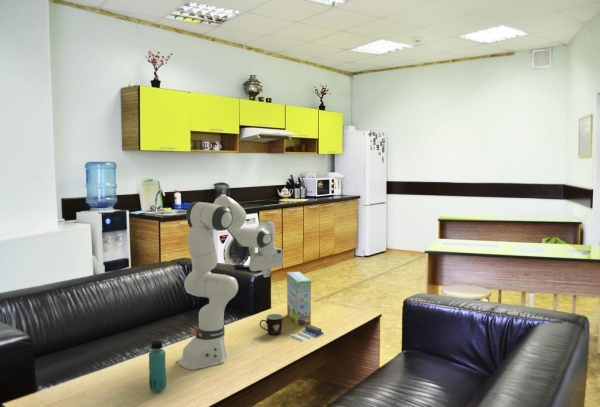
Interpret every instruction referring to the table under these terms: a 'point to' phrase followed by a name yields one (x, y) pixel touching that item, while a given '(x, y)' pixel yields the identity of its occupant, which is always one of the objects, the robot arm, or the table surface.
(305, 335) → the white ridged tray
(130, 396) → the table surface
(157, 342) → the beverage bottle
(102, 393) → the table surface
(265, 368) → the table surface
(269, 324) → the coffee mug
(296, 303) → the snack box
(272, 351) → the table surface
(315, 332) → the grey rectangular prism
